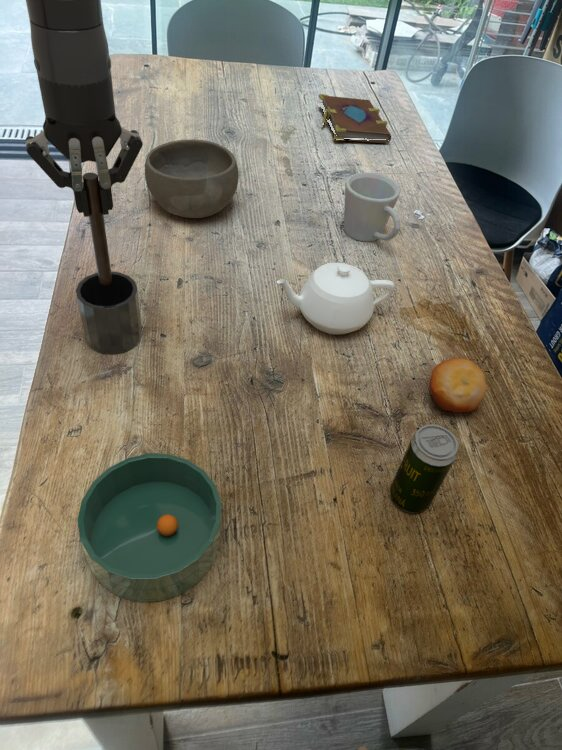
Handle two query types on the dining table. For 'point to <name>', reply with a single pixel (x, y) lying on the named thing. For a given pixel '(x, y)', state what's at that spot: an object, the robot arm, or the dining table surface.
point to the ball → (167, 525)
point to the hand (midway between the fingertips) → (95, 212)
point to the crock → (110, 313)
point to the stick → (98, 228)
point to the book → (354, 119)
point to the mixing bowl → (150, 527)
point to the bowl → (191, 177)
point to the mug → (370, 206)
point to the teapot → (338, 297)
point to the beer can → (423, 468)
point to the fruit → (457, 385)
